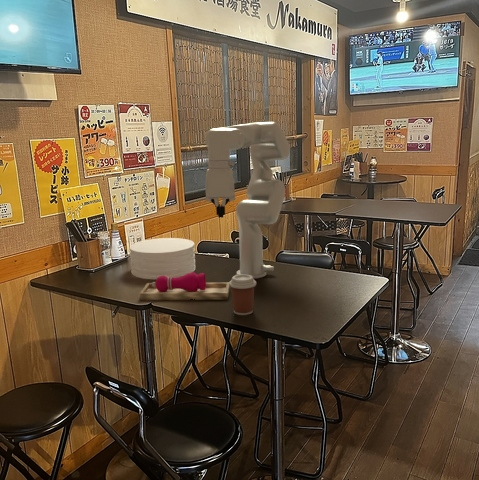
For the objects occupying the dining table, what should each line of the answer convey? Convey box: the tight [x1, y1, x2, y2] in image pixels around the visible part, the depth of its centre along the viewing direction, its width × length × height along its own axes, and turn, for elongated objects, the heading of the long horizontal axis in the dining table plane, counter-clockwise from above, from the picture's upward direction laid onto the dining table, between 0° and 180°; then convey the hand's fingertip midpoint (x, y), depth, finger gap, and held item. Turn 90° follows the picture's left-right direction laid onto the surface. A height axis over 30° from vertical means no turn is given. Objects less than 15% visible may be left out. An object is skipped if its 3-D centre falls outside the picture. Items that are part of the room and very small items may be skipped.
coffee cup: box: [229, 274, 257, 316], centre depth 159 cm, size 9×9×12 cm
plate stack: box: [129, 237, 196, 280], centre depth 211 cm, size 28×28×12 cm
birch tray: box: [138, 281, 231, 301], centre depth 179 cm, size 32×12×2 cm, turn 88°
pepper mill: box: [151, 271, 207, 292], centre depth 179 cm, size 7×7×20 cm
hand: (220, 216), depth 172 cm, fingers closed
